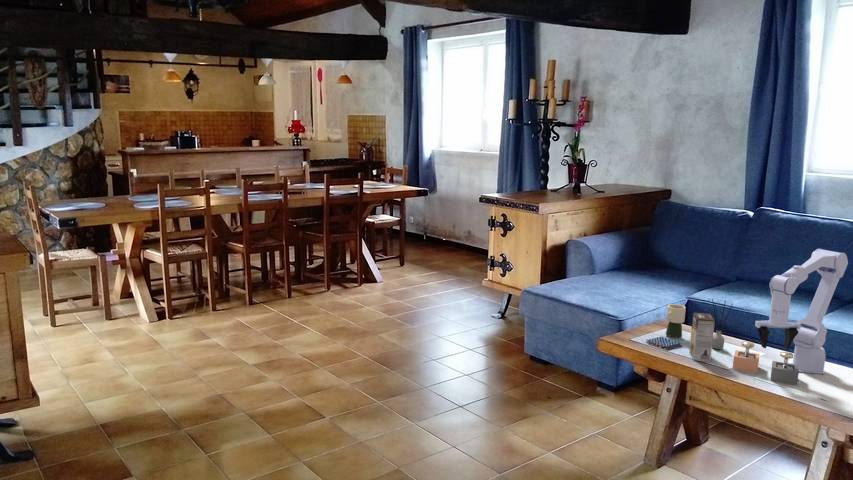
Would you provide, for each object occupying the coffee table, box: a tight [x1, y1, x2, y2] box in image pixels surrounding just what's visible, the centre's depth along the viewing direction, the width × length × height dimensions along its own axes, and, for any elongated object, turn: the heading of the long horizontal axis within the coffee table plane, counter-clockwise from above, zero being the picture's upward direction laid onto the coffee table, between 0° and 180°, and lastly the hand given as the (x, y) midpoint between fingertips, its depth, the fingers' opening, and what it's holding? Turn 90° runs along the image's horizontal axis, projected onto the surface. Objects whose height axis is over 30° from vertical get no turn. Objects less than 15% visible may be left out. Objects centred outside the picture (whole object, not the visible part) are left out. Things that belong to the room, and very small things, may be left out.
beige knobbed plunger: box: [777, 351, 794, 370], centre depth 230 cm, size 5×5×6 cm
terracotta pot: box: [732, 350, 760, 374], centre depth 241 cm, size 8×8×5 cm
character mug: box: [665, 303, 687, 339], centre depth 275 cm, size 11×7×13 cm, turn 125°
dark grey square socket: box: [770, 360, 800, 386], centre depth 231 cm, size 8×8×5 cm
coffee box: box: [688, 312, 716, 362], centre depth 250 cm, size 9×6×16 cm
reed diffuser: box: [711, 298, 733, 350], centre depth 260 cm, size 10×7×20 cm
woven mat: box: [645, 336, 683, 351], centre depth 265 cm, size 10×11×2 cm
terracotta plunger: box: [739, 340, 755, 359], centre depth 241 cm, size 5×5×6 cm
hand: (775, 347), depth 232 cm, fingers open, 7 cm apart
